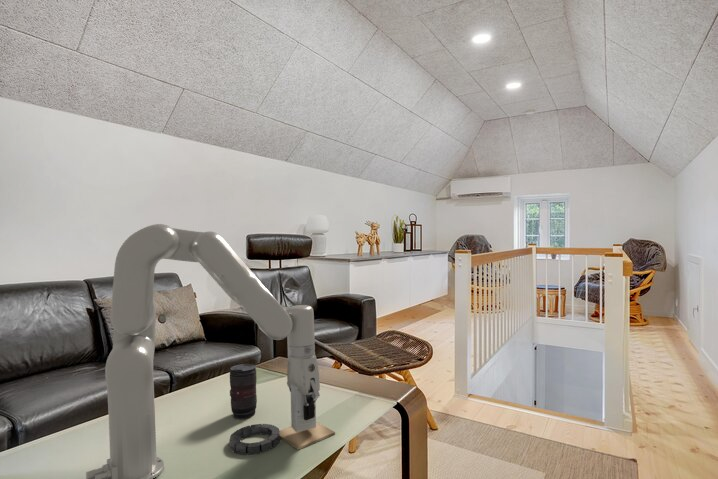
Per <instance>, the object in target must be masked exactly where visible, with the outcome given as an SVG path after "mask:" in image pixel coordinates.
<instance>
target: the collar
mask: <svg viewBox="0 0 718 479" xmlns="http://www.w3.org/2000/svg"><path fill="white" fill-rule="evenodd" d="M255 435H266V436H268V438H266V439H263V440H261V441H256V442H243V441H242V440H244V438H248V437H250V436H255ZM280 439H281V438H280V428H279V427H277V426H275V425H273V424H269V423H257V424H256V423H255V424H251V425H246V426H243V427H241V428H238V429H237V430H235V431H234V432H233V433H231V435H230V437H229V440H228V442H229V443H228V444H229V445H228V446H229V449H230V450H231V451H232V452H233V453H234V454H236V455H237V454H238V455H242V456H251V455H252V456H253V455H260V454H263V453H265V452H268V451H270V450H272V449H274V448H275V447H276V446H278V444H280V441H281V440H280Z"/></svg>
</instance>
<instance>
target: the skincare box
mask: <svg viewBox="0 0 718 479" xmlns="http://www.w3.org/2000/svg"><path fill="white" fill-rule="evenodd" d="M308 392H310V390H308ZM310 397H311V396H310V395H308V399H309V398H310ZM304 405H305V402H304V396H303V394H301V393H299V388H298V387H297V386H295V385H293V384H291V392H290V418H291V419H290V425H291V426H292V428H293V429H294V430H295V432H299V431H304V430H308V429H312V428H315V427H316V422H317V413H316V412H317V410H316V407H317V405H316V403H315V404H314V408H315V417H314V418H311V419H309V420H304Z"/></svg>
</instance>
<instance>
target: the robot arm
mask: <svg viewBox="0 0 718 479" xmlns="http://www.w3.org/2000/svg"><path fill="white" fill-rule="evenodd" d="M163 259H164V260H170V261H171V260H172V261H180V262H181V261H182V262H191V263H199V265H200V266H201V267H202V268H203V269H204V270H205V271H206V272H207V273H208V274H209V276H210V277H211V278H212V280H214V281H215V282H216V284H217V285H218V286H219V287H220V288H221V289H222V290H223V291H224V293H225V294H226V295H227V296H228V297H229V298H230V299H231V300H232V301H233V302H234V303H236V304H237V305H238V306H240V307H241V308H242V310H243V311H244V312H245V313H247V315H249V317H250V318H251V319H252V320H253V322H255V323H256V324H257V327H258V329H259V330H260V331H261V332H262V333H264V334H265V336H267V337H268V338H269V339H271V340H274V341H275V340H276V341H280V340H285V339H287V364H286V365H287V368H286V377H287V378H286V379H287V381H286V384H287V387H288V389H289V392H290V393H291V384H293V385H295V386H297V387H298V388H299V393H301V394H303V396H304V402H305V405H304V420H309V419H311V418H314V417H315V408H314V404H315V403H316V401H317V400H318V399H319V398H320V396H321V394H320V390H321V384H320V383H321V382H320V370H319V364H318V360H317V356H316V351H315V350H316V345H315V338H316V337H315V315H314V314H315V313H314V308H313V307H312V306H310V305H309V304H299V305H297V304H296V305H292V306H283V305H282V304H281V303H280V302H279V301H278V300H277V299H276V297H274V295H273V294H272V292H270V291H269V290H268V288H267V287H266V286H265V285H264V284H263V283H262V282H261V280H260V279H259V278H258V277H257V275H256V274H255V273H254V272H253V271H252V270H251V269H250V268H249V267H248V265H247V264H246V263H245V262H244V261H243V260H242V258H241V257H240V256H239V255H238V253H237V252H236V251H235V250H234V249H233V247H232V246H231V245H230V244H229V243H228V242H227V240H226V239H225V238H224V237H222V236H221V235H220V234H219V233H217V232H214V231H204V232H203V231H195V230H187V229H182V228H180V229H179V228H176V227H175V228H174V227H171V226H170V225H167V224H162V223H155V224H151V225H147V226H145V227H142V228H140V229H138V230H136V231H134V233H132V234H131V235H130V236H128V237H127V238H126V240H124V241H123V243H122V245H121V246H120V247H119V249H118V251H117V254H116V257H115V260H114V261H115V263H114V269H113V270H114V271H113V282H112V295H111V296H112V299H111V308H110V315H109V317H110V318H109V319H110V324H111V326H112V327H113V334H112V335H113V336H112V337H113V338H112V349H111V351H110V353H109V355H108V356H107V359H106V362H105V368H104V369H105V373H104V374H105V376H104V377H105V384H106V393H107V410H108V411H107V412H108V413H107V414H108V430H109V431H108V435H109V458H107V459H106V463H105V464H102V466H101V467H98V468H94V469H91V470H89V471H86V472H85V478H86V479H153V478H155V477H156V478H157V477H159V476H160V474H162V473H163V471H164V468H165V463H164V460H163V459H162V458H160V457H157V435H156V433H157V432H156V431H157V430H156V409H155V408H156V407H155V386H154V359H155V349H156V347H155V346H156V344H155V342H156V341H155V340H156V320H157V306H156V303H155V301H154V284H155V270H156V266H157V265H158V263H159V262H160V261H161V260H163ZM308 390H310V392H308ZM308 395H310V396H311V397H310V398H309V399H308ZM158 475H159V476H158ZM156 478H155V479H156Z"/></svg>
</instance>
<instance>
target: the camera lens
mask: <svg viewBox="0 0 718 479" xmlns="http://www.w3.org/2000/svg"><path fill="white" fill-rule="evenodd" d="M256 367H257V366H256V365H255V364H253V363H252V364H251V363H241V364H236V365H233V366H231V367H230V372H229V386H230V389H229V396H230V408H231V413H232V414H233V415H232V416H233V418H235V419H237V420H244V419H245V420H246V419H249V418H251V417H253V416H254V415H255V414H256V409H257V403H258V396H257V368H256Z"/></svg>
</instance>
